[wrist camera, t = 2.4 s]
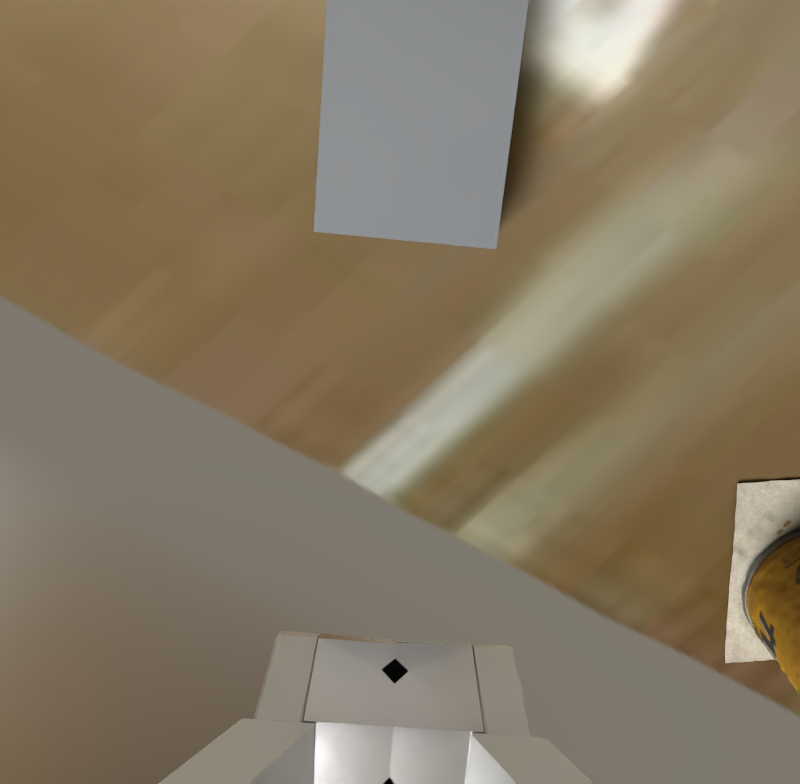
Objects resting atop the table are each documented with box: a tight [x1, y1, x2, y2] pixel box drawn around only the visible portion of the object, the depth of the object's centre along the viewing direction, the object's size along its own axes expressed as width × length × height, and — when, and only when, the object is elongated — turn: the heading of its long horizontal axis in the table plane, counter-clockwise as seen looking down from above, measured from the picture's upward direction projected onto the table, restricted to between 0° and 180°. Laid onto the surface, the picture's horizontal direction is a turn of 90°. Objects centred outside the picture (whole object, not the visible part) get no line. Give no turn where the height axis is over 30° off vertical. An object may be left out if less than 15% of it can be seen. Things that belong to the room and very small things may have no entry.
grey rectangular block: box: [314, 0, 529, 249], centre depth 24 cm, size 6×9×3 cm, turn 175°
